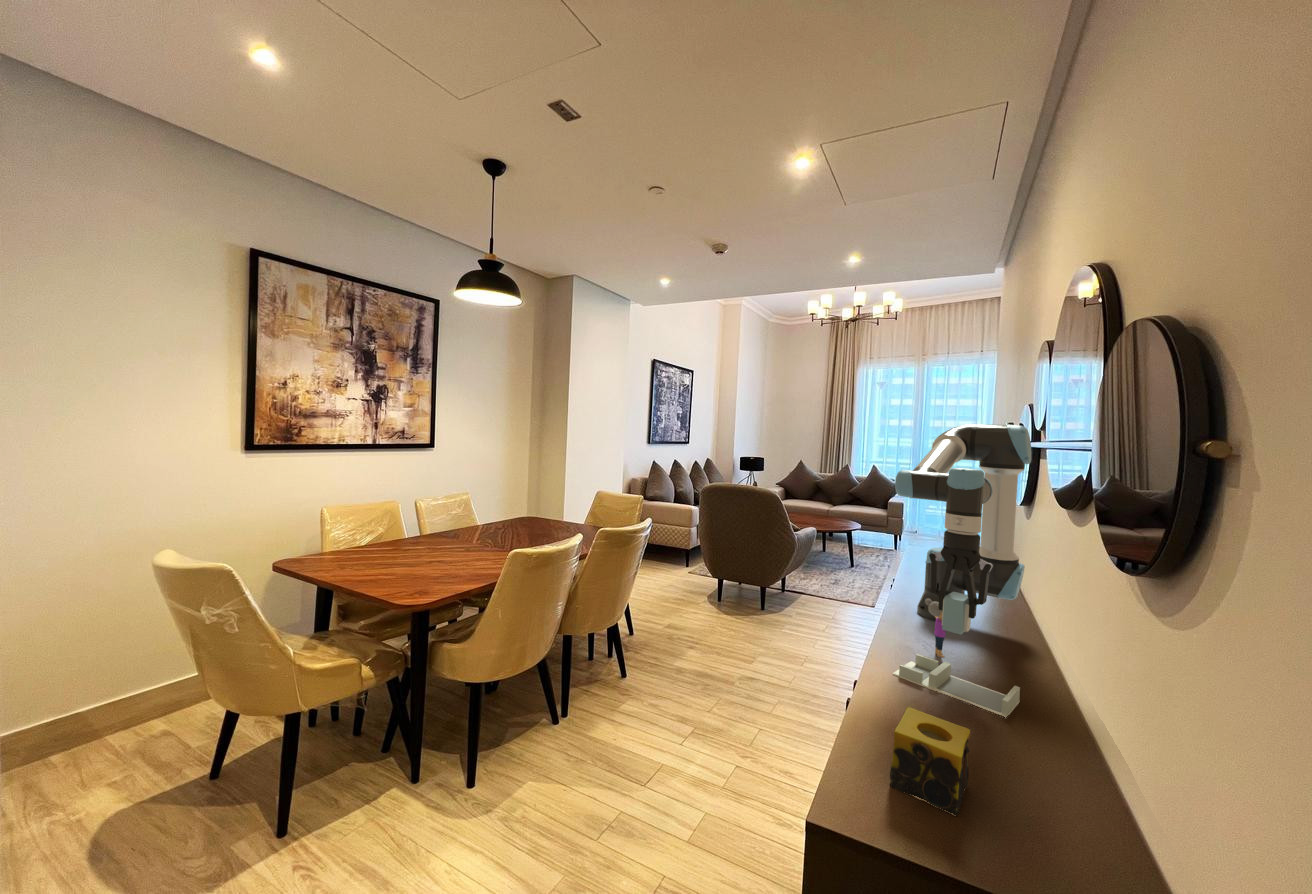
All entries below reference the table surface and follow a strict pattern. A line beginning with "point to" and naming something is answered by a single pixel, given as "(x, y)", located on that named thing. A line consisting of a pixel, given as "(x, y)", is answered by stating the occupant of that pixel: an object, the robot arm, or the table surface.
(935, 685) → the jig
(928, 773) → the yellow tissue box
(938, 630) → the toy
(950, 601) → the grey-blue block
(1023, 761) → the table surface
